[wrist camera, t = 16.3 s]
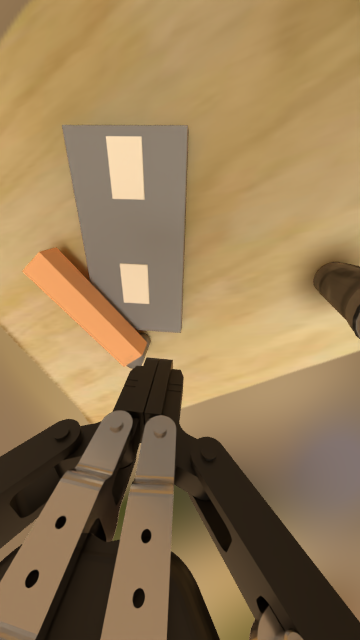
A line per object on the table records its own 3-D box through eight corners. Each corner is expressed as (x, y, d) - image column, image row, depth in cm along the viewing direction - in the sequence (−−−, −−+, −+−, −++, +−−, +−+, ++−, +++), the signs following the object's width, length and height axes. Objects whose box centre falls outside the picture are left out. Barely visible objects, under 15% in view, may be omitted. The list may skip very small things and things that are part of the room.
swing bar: (153, 348, 36) (148, 362, 33) (136, 359, 37) (130, 372, 34) (56, 247, 29) (39, 252, 26) (40, 264, 30) (22, 271, 27)
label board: (69, 129, 25) (58, 122, 23) (188, 130, 24) (187, 123, 22) (105, 343, 39) (100, 350, 37) (180, 349, 38) (179, 357, 36)
